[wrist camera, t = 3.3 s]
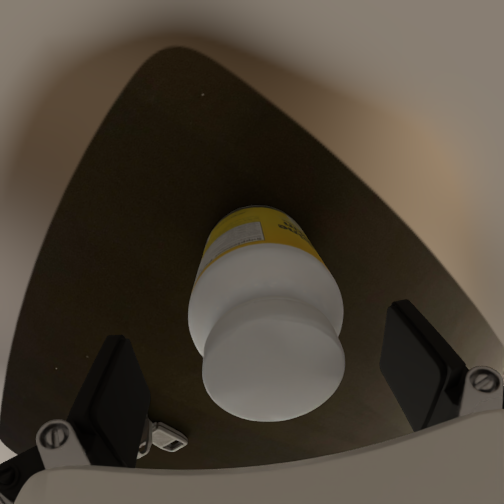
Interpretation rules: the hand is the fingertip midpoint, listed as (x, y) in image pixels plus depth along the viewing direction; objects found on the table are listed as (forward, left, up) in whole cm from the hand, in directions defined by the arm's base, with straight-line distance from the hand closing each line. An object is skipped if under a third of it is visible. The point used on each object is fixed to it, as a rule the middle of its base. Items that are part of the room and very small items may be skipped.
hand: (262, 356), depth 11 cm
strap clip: (+12, +16, -11) cm, 22 cm away
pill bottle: (0, 0, -11) cm, 11 cm away
